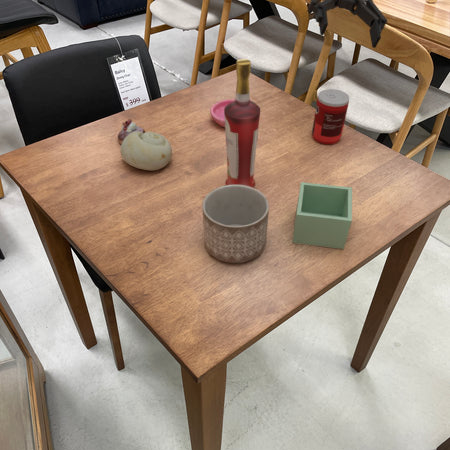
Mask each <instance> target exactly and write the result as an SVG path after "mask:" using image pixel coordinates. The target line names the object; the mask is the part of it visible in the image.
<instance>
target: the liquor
mask: <svg viewBox="0 0 450 450" xmlns="http://www.w3.org/2000/svg"><path fill="white" fill-rule="evenodd" d="M235 65H236V67H235V68H236V69H235V70H236V71H235V73H236V89H235V96H234V97H235V100H234V101H232V102H231V103H229V104H228V105H227V106H226V107H225V108H224V115H225V128H224V134H225V147H226V169H227V171H226V172H227V173H226V175H227V178H226V180H225V185H245V186H250V187H252V188H255V186H256V180H255V179H254V178H255V177H254V176H255V163H256V155H257V146H258V139H259V138H258V137H259V129H260V119H261V108H260V106H259V105H258V104H256V102H254V101H252V100H251V97H250V96H251V95H250V93H251V92H250V75H251V68H252V67H251V66H252V62H251V60H250V59H248V58H247V59H246V58H240V59H237V60H236V63H235Z"/></svg>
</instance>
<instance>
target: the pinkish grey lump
mask: <svg viewBox="0 0 450 450" xmlns="http://www.w3.org/2000/svg"><path fill="white" fill-rule="evenodd" d="M136 131H139V132H142V133H146V132H147V131H146V130H145V129H144V128H143V127H141V126H138V125H137V123H135V122H134V121H132V119H131V118H128V119H127V120H125V121H124V122H122V125H121V130H120V131H119V132H118V134H117V142H118V144H119V145H121V144H122V142H123V140H124V139H125V137H126V136H128V135H129V134H130V133H132V132H136Z"/></svg>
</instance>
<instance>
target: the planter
mask: <svg viewBox="0 0 450 450" xmlns="http://www.w3.org/2000/svg"><path fill="white" fill-rule="evenodd" d="M201 205H202V206H201V207H202V208H201V209H202V224H203V225H202V226H203V227H202V228H203V242H204V246H205V249H206V250H207V252H208V253H209V254H210V255H211V256H212V257H214V258H215V259H217V260H219V261H222V262H226V263H232V264H239V263H240V264H241V263H247V262H249V261H252V260H254V259H256V258H257V257H258V256H260V255H261V254H262V252H263V251H264V249H265V247H266V244H267V234H268V223H269V216H270V215H269V214H270V213H269V212H270V202H269V199H268V198H267V196H266V194H264V193H263V192H262V191H261V190H258V189H256V188H255V187H253V188H252V187H250V186H245V185H226V184H225V185H221V186H218V187H215V188H214V189H212V190H211V191H210V192H208V193H207V194H206V195H205V196H204V198H203V201H202V204H201Z"/></svg>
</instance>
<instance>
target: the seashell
mask: <svg viewBox="0 0 450 450" xmlns="http://www.w3.org/2000/svg"><path fill="white" fill-rule="evenodd" d="M145 132H146V133H142V132H139V131H136V132H132V133H130V134H129V135H128V136H126V137H125V139H124V140H123V142H122V144H120V149H119V150H120V151H119V152H120V156H121V158H122V160H123V161H124V162H125V163H126V164H127V165H129V166H132V167H134V168H136V169H139V170H144V171H158V170H160V169H163V168H164V167H166V166H167V165H168V164H169V163H170V161H171V159H172V155H173V149H172V145H171V143H170V141H169V140H168V139H167V138H166V137H165V136H164V135H162V134H160V133H158V132H153V131H145Z"/></svg>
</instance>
